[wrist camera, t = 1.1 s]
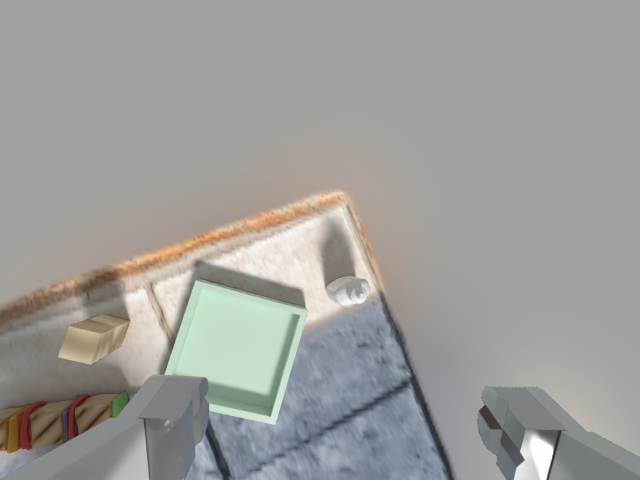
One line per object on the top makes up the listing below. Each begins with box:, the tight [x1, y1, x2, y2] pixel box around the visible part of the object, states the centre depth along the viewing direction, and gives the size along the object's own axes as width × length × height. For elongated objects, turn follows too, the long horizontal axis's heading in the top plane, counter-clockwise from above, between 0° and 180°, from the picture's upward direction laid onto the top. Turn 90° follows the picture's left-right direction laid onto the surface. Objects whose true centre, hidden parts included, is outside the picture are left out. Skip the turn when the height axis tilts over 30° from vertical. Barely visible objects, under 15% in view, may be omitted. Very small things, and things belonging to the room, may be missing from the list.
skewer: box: [0, 391, 128, 453], centre depth 43 cm, size 21×6×5 cm, turn 93°
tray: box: [164, 279, 308, 425], centre depth 48 cm, size 18×18×3 cm
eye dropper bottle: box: [326, 276, 370, 305], centre depth 46 cm, size 4×6×12 cm
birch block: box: [58, 314, 130, 365], centre depth 42 cm, size 4×4×8 cm
